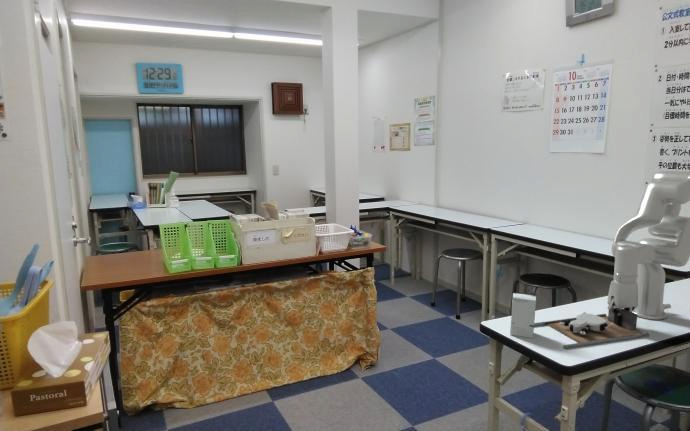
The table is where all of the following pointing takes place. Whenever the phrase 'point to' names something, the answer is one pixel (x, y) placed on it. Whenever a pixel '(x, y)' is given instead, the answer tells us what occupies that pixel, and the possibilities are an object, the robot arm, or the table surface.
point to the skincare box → (523, 315)
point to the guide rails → (595, 340)
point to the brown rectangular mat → (611, 332)
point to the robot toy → (586, 323)
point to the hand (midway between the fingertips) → (621, 323)
